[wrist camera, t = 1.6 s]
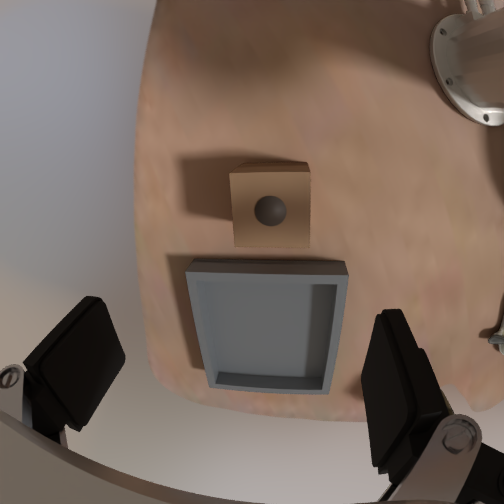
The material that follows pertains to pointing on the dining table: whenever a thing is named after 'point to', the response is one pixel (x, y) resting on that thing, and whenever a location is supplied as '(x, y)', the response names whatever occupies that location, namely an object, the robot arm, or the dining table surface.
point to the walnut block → (271, 205)
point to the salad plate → (498, 337)
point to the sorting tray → (268, 322)
